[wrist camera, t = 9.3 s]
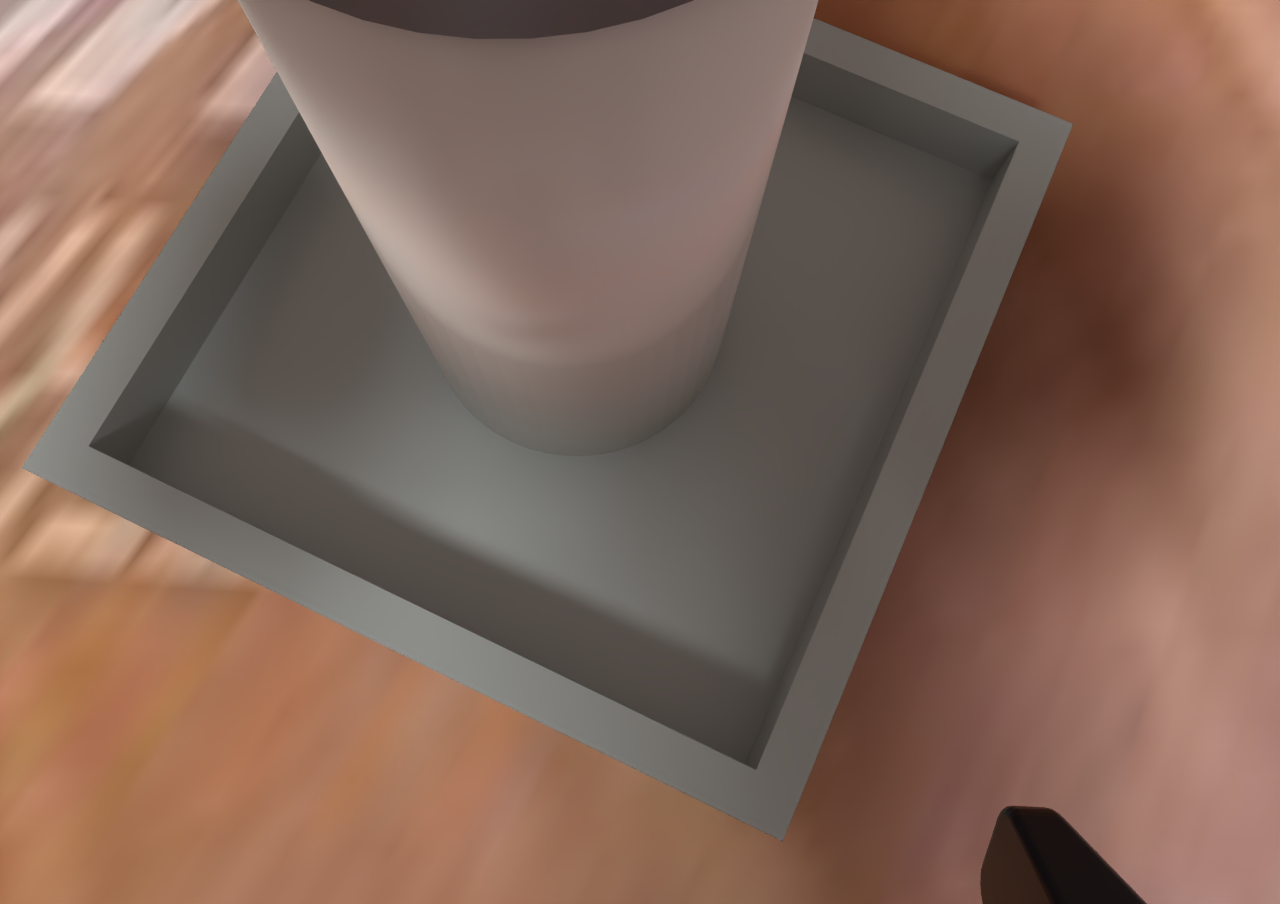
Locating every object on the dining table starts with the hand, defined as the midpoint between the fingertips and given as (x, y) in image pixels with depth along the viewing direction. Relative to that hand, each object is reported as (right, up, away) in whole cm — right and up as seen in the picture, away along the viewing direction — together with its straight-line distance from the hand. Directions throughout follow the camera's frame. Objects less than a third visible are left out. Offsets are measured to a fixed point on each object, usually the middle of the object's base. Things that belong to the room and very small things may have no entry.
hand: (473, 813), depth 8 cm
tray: (0, +5, +11) cm, 13 cm away
